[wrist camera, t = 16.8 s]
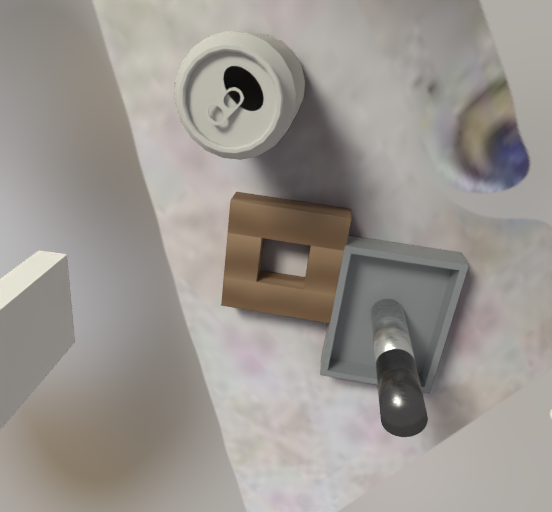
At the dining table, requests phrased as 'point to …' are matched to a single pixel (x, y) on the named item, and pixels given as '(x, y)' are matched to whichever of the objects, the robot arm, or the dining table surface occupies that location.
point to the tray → (397, 286)
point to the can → (239, 93)
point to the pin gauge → (396, 371)
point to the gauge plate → (289, 228)
